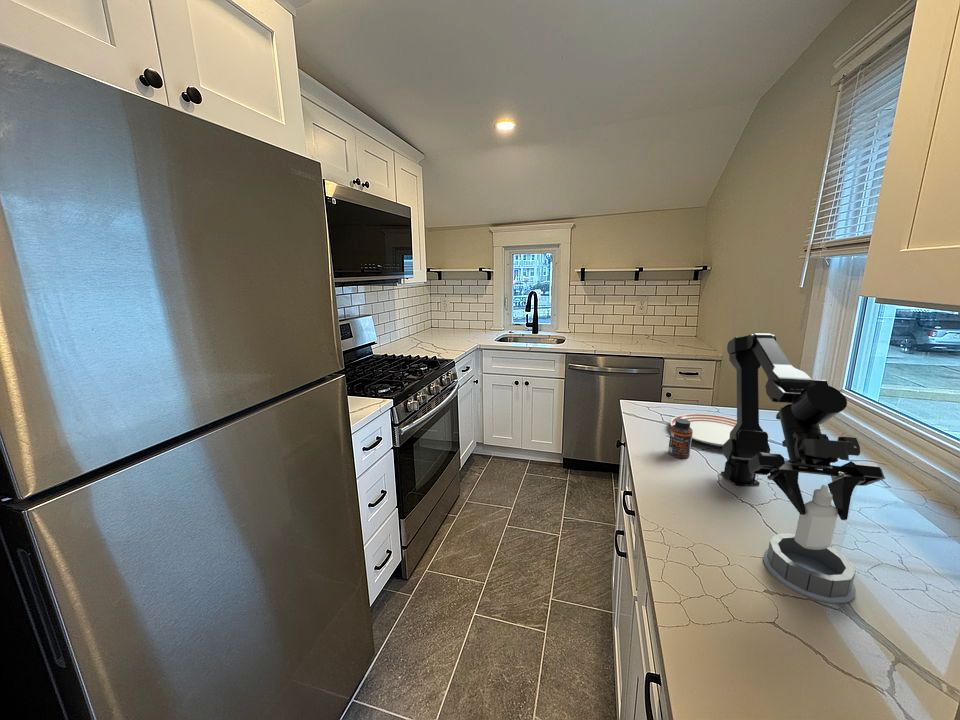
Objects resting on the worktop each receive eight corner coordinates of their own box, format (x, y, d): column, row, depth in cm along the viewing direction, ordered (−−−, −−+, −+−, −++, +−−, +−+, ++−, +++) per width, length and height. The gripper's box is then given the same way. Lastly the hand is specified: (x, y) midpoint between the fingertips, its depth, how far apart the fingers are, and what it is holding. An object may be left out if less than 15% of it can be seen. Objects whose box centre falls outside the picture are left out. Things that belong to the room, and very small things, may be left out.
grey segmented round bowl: (806, 546, 76) (810, 529, 75) (876, 600, 64) (882, 580, 63) (747, 550, 76) (750, 533, 75) (805, 606, 63) (810, 586, 62)
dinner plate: (659, 438, 127) (660, 429, 126) (680, 414, 147) (681, 406, 146) (758, 463, 109) (760, 453, 108) (767, 432, 129) (768, 423, 128)
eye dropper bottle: (836, 556, 65) (851, 496, 62) (797, 547, 68) (809, 489, 65) (826, 539, 69) (839, 482, 66) (788, 532, 71) (800, 476, 68)
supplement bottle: (669, 457, 113) (672, 423, 111) (667, 448, 119) (670, 415, 116) (691, 460, 111) (695, 425, 109) (688, 451, 117) (692, 418, 114)
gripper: (764, 413, 69) (782, 500, 61) (890, 422, 64) (927, 518, 56) (741, 434, 78) (755, 511, 71) (850, 443, 73) (877, 528, 65)
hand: (823, 517), depth 65 cm, fingers closed on eye dropper bottle, 6 cm apart
